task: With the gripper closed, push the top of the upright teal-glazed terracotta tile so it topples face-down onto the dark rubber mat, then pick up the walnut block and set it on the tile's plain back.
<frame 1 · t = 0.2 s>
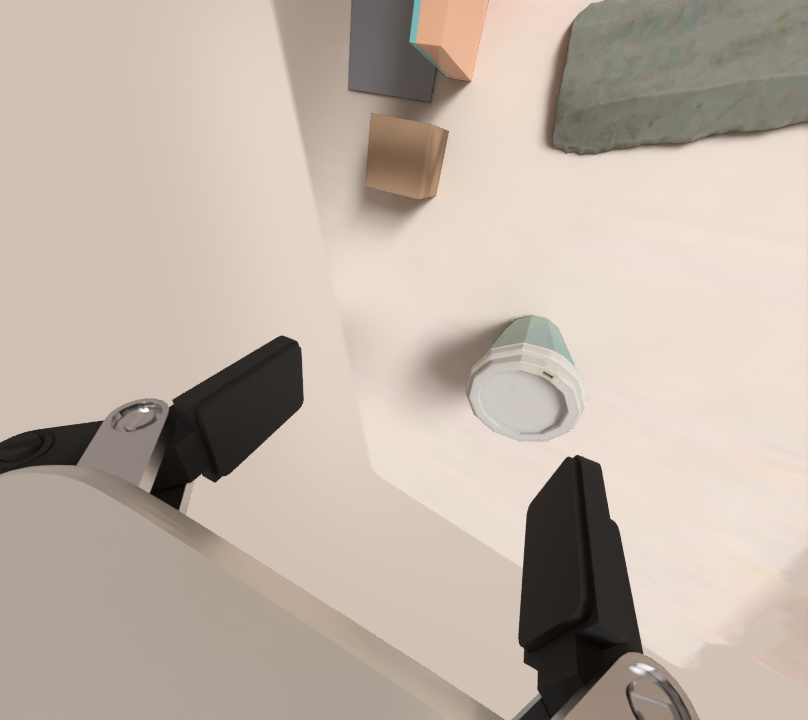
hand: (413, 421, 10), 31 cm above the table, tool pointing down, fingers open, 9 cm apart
stone slab: (720, 63, 23), on the table
walnut block: (417, 159, 33), on the table
disposable coffee cup: (529, 336, 38), on the table
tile: (474, 1, 26), on the table
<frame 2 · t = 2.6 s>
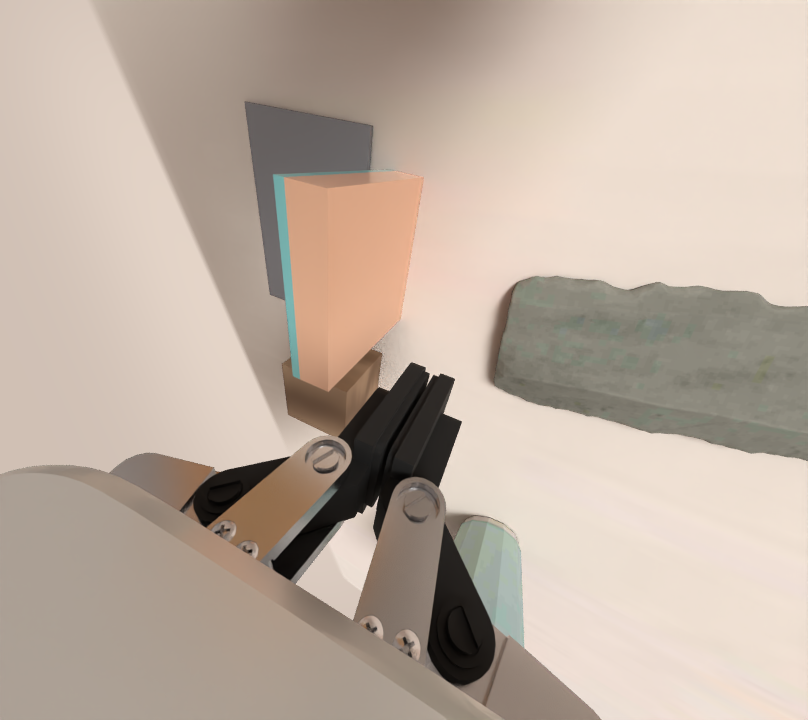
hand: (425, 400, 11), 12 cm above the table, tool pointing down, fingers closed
stone slab: (689, 363, 18), on the table
walnut block: (352, 366, 29), on the table
mat: (311, 228, 23), on the table
disposable coffee cup: (487, 530, 35), on the table
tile: (395, 253, 21), on the table
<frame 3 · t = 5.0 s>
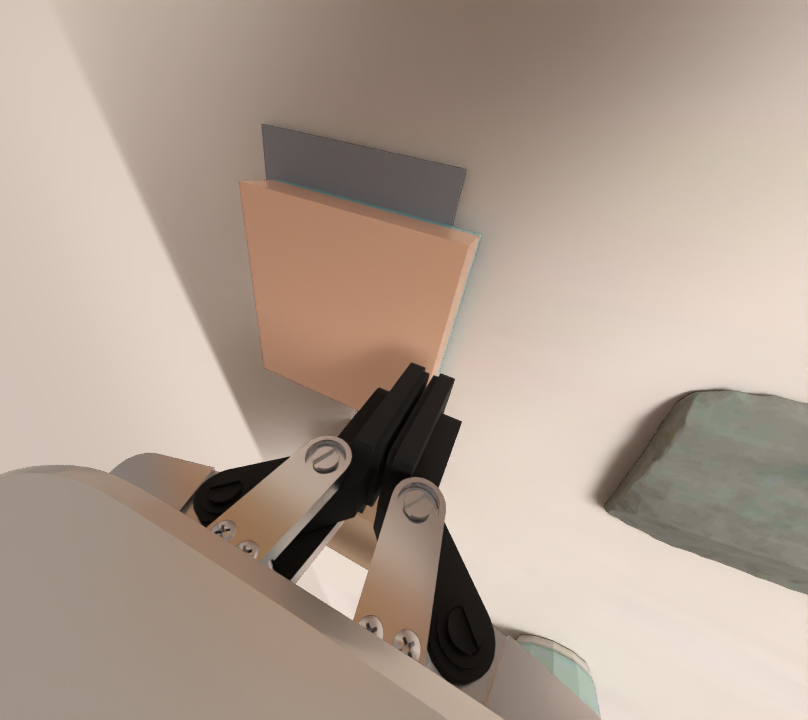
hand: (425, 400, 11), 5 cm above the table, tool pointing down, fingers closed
walnut block: (387, 459, 23), on the table
mat: (348, 298, 16), on the table
disposable coffee cup: (547, 650, 28), on the table
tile: (443, 349, 14), point 1 cm above the table, tilted 90°, touching mat
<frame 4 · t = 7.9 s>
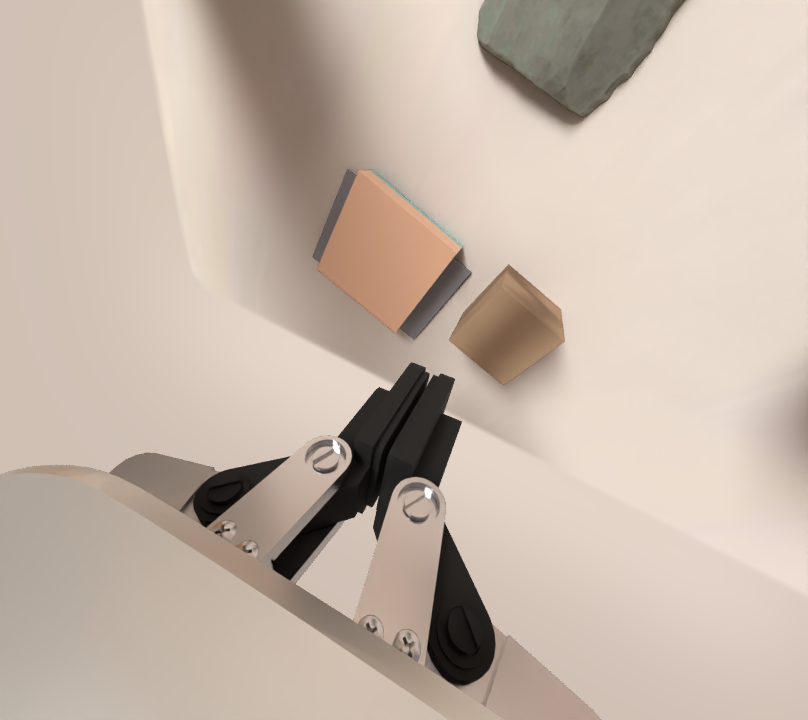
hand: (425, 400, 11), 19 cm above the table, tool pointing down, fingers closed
walnut block: (509, 310, 28), on the table
mat: (385, 263, 29), on the table
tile: (413, 210, 24), point 1 cm above the table, tilted 90°, touching mat
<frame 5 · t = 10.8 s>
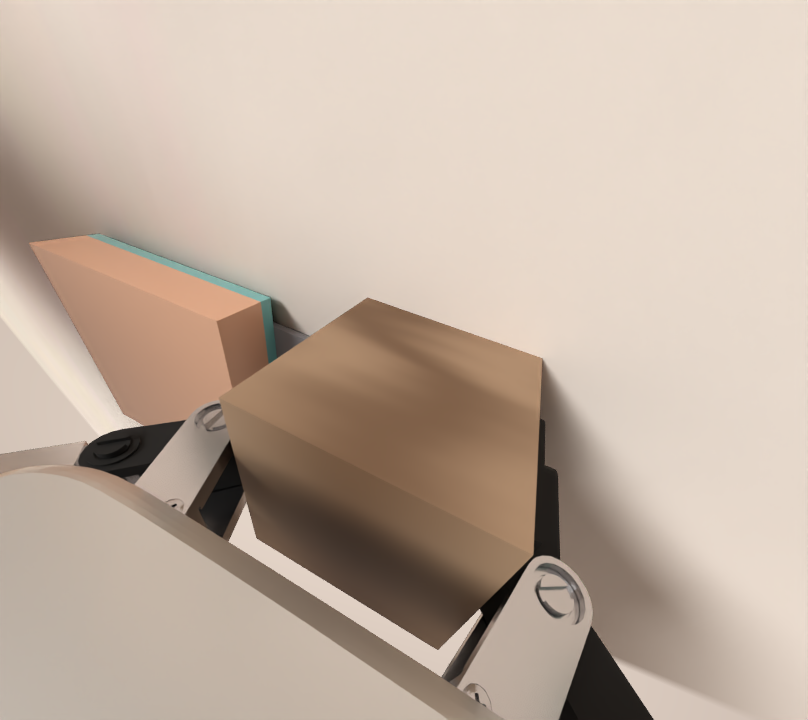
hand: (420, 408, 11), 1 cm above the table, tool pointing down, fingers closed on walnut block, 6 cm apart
walnut block: (429, 392, 11), on the table, touching gripper
mat: (212, 369, 17), on the table
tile: (147, 269, 12), point 1 cm above the table, tilted 90°, touching mat
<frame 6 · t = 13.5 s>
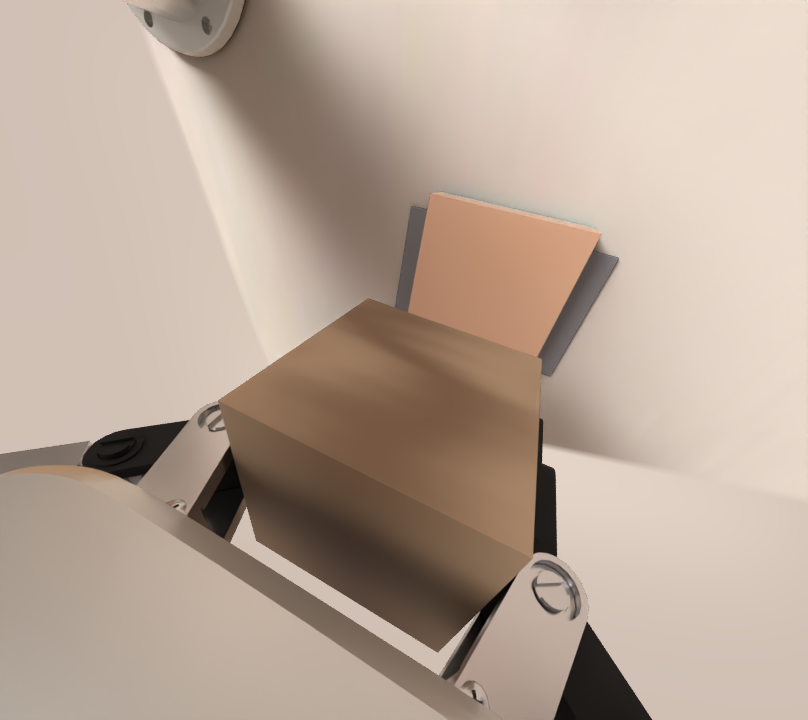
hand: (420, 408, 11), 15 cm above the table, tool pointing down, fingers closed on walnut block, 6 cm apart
walnut block: (429, 393, 11), point 14 cm above the table, touching gripper
mat: (484, 294, 23), on the table
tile: (512, 210, 18), point 1 cm above the table, tilted 90°, touching mat
when the fingers open (5 cm above the table, at t = 15.7 s): walnut block drops 1 cm, resting on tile.
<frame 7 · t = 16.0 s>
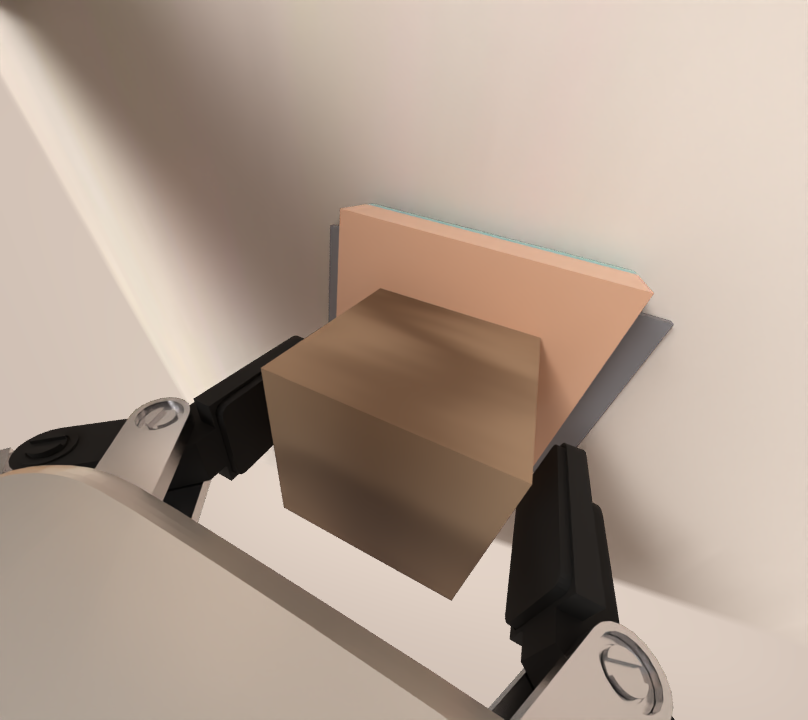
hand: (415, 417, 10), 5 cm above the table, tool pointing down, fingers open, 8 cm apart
walnut block: (437, 376, 12), point 3 cm above the table, touching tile
mat: (450, 359, 15), on the table
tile: (484, 239, 10), point 1 cm above the table, tilted 90°, touching mat, walnut block
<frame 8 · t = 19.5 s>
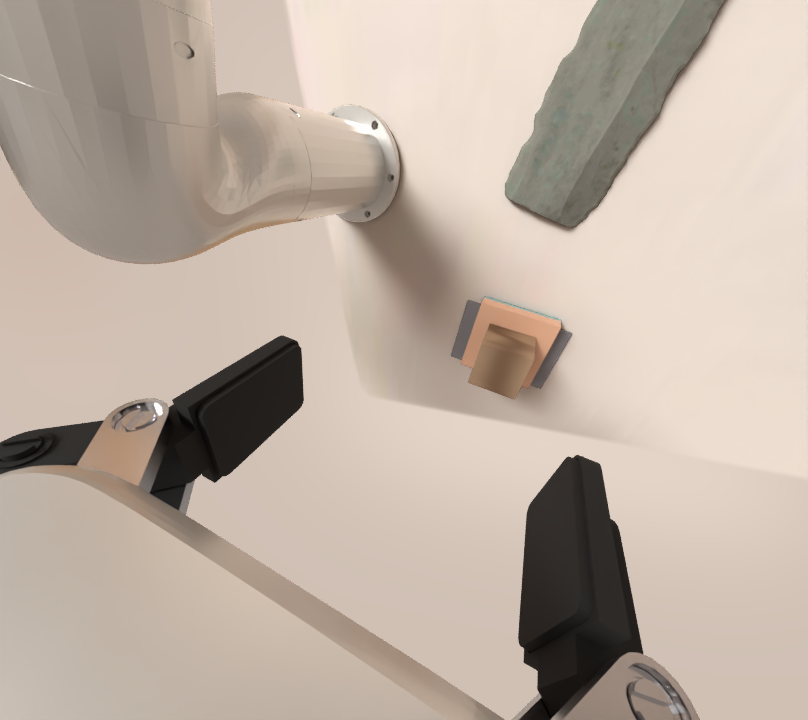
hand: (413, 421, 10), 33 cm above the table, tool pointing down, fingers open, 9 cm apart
stone slab: (607, 88, 28), on the table
walnut block: (504, 349, 40), point 3 cm above the table, touching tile
mat: (505, 345, 43), on the table
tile: (520, 311, 38), point 1 cm above the table, tilted 90°, touching mat, walnut block
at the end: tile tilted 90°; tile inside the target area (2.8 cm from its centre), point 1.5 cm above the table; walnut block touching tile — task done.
